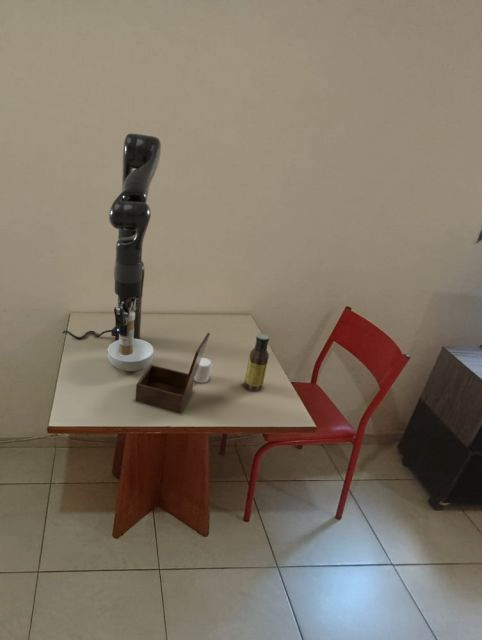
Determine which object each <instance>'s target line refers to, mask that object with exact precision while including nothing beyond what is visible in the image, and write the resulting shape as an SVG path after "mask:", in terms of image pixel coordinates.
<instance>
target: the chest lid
mask: <svg viewBox="0 0 482 640" xmlns="http://www.w3.org/2000/svg"><path fill="white" fill-rule="evenodd" d="M210 336H211V333H210V332H207V333H206V335H205V337H204V338H203V340H202V342H201V343H200V345H198V348H197V349H196V351H195V353H194V356H193V360H192V361H191V365H190V368H189V371H188V373H187V374H188V376H187V379H186V382H185V385H184V388H183V391H182V394H181V395H183V396H184V394H185V392H186V391H187V389H188V387H189V385H190V384H191V382H192V380H193V378H194V377H195V375H196V372H197V369H198V367H199V364H200V361H201V358H202V357H203V355H204V353H205V349H206V347H207V344H208V341H209V339H210Z"/></svg>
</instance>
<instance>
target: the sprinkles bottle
mask: <svg viewBox="0 0 482 640" xmlns="http://www.w3.org/2000/svg"><path fill="white" fill-rule="evenodd" d="M124 314H127V313H126V312H124ZM134 319H135V312H134V311H131V314H130V317H129V318H128V327H127V335H126V336H122V335H120V334H119V353H120V354H122V355H130V354H132V353H133V341H134Z"/></svg>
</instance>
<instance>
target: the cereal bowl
mask: <svg viewBox="0 0 482 640" xmlns="http://www.w3.org/2000/svg"><path fill="white" fill-rule="evenodd" d="M154 351H155V349H154V347H153V345H152V344H151V343H150V342H148V341H146V340H144V339H141V338H140V339H134V341H133V353H132V354H130V355H122V354H120V353H119V340H117V341H115V340H114V341H112V343H110V344H109V346H108V348H107V356H108V360H109V362H110V363H111V365H112V366H113V367H115V368H116V369H119V370H120V371H121V370H122V371H126V372H136V371H140V370H143V369H145V368H147V367H149V366H150V365H151V363H152V361H153V358H154V355H155V354H154V353H155V352H154Z"/></svg>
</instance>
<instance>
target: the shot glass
mask: <svg viewBox="0 0 482 640" xmlns="http://www.w3.org/2000/svg"><path fill="white" fill-rule="evenodd" d="M213 364H214V363H213V360H212V359H210V358H208V357H204V356H202V358H201V361H200V364H199V367H198V369H197V372H196V375H195V377H194V381H195V382H196V383H201V384H202V383H203V384H204V383H207V382H208V381H209V379H210V375H211V371H212V368H213Z"/></svg>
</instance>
